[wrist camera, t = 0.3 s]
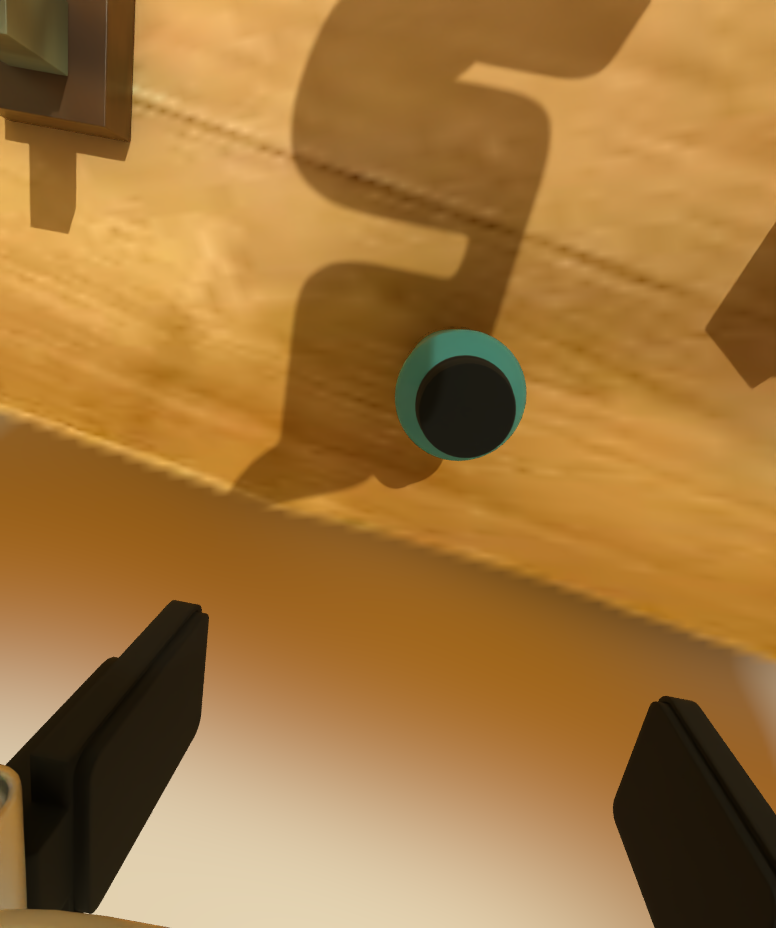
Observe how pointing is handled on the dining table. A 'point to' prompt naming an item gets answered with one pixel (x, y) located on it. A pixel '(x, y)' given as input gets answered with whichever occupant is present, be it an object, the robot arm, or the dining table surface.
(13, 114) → the square knob plate
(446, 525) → the dining table surface
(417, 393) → the beverage bottle
